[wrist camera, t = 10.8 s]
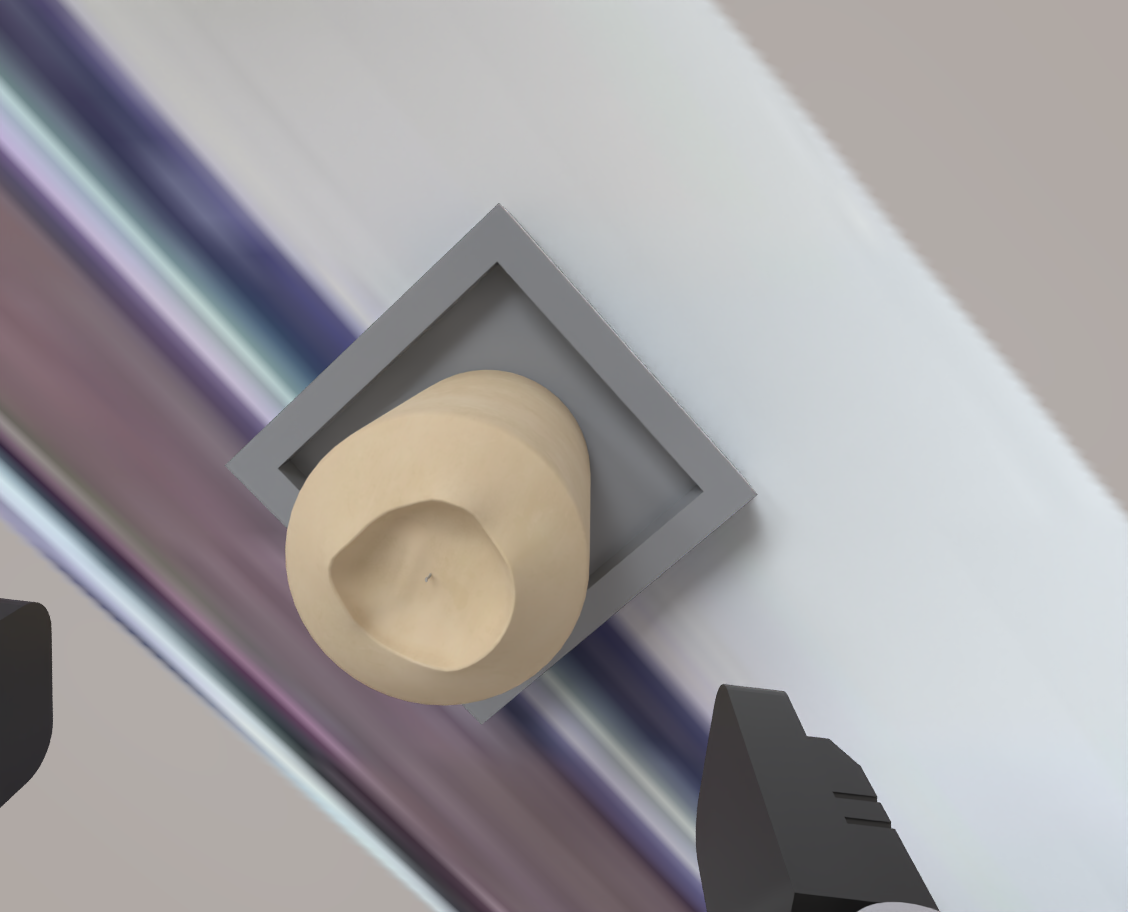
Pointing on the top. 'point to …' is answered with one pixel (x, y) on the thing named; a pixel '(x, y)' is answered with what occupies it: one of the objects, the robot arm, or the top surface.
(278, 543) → the top surface
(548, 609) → the candle
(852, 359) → the top surface
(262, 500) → the holder
